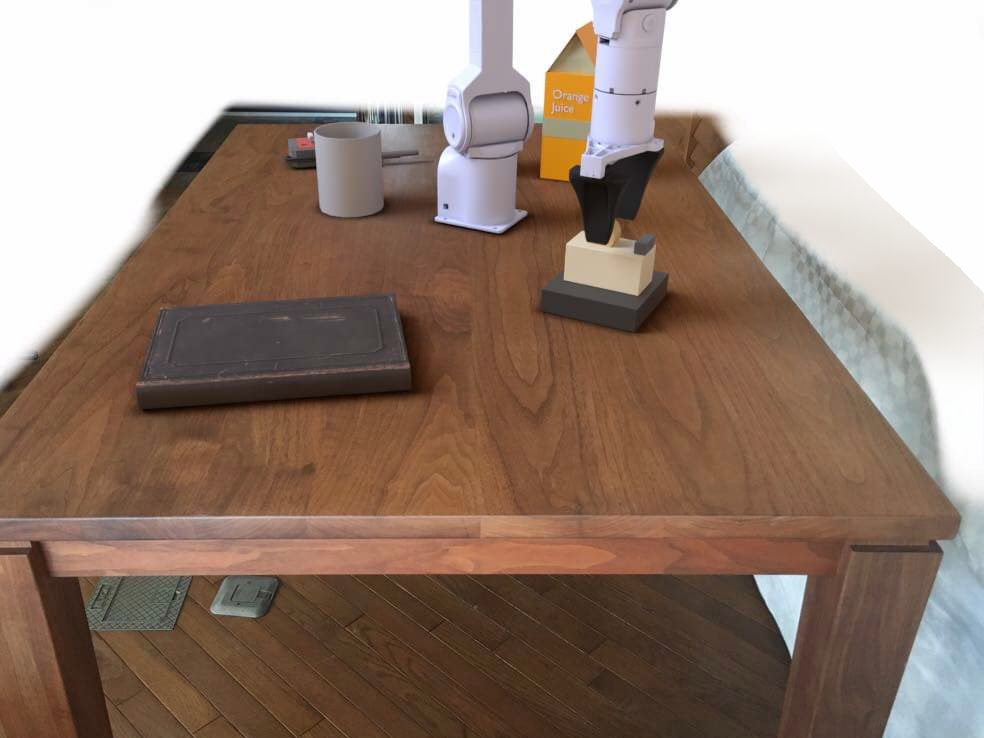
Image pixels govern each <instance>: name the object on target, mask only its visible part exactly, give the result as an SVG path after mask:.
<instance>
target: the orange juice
mask: <svg viewBox="0 0 984 738" xmlns="http://www.w3.org/2000/svg"><path fill="white" fill-rule="evenodd" d="M597 44H598V35H597V34H595V33H594V27H593V20H591V21H589V22H587V23H585V24H584V25H582V26H580V27H579V28H577V29H576V30H575V32H574V33H573V35H572V36H571V38H570V39H569V41H567V43H566V45H564V47H563V49H561V51H560V52H559V54H558V55H557V57H556V58H555V60H554V61H553V63H551V65H550V66H549V68H548V69H547V70H546V71H545V73H544V75H545V77H544V93H543V94H544V96H543V97H544V98H543V111H542V112H543V114H542V125H541V126H542V128H541V150H540V151H541V152H540V153H541V154H540V171H539V172H540V173H539V178H540V179H547V180H548V179H549V180H557V181H563V182H570V181H569V170H570V169H571V168H572V167H574V166H575V165H581V158H582V154H584V153H585V152H586V148H587V139H588V134H589V133H590V129H591V117H592V105H593V93H594V80H595V68H596V56H597Z"/></svg>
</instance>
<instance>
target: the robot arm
mask: <svg viewBox="0 0 984 738" xmlns="http://www.w3.org/2000/svg"><path fill="white" fill-rule="evenodd" d="M678 2H679V0H590V3H591V6H592V12H593V13H592V14H593V16H592V19H593V20H592V22H593V27H594V33H595V34H597V35H598V44H597V56H596V68H595V80H594V93H593V105H592V117H591V129H590V133H589V134H588V139H587V148H586V152H585V153H584V154H582V158H581V165H575V166H574V167H572V168H571V169H570V170H569V181H568V182H570V185H571V187H572V188H573V191H574V193H575V195H576V198H577V201H578V203H579V209H580V213H581V218H582V225H583V231H585V237H586V241H587V242H591V243H596V244H601V245H607V244H608V243H609V240H610V238H611V235H612V232H613V228H614V224H615V219H616V220H617V219H622V220H627V221H628V220H629V221H634V220H635V219H636V218H637V215H638V213H639V210H640V207H641V205H642V202H643V198H644V195H645V192H646V189H647V186H648V183H649V181H650V179H651V177H652V174H653V172H654V170H655V168H656V167H657V165H658V164H659V162H660V160H661V159H662V158H663V156H664V153H665V147H664V144H665V140H664V139H662V138H658V137H657V138H656V137H654V133H655V125H656V120H655V113H656V112H655V111H656V104H657V95H658V86H659V78H660V69H661V61H662V52H663V45H664V36H665V35H664V34H665V28H666V20H667V19H666V17H667V12H668V11H670V10H671V9H673V8H674V7H675V6H676V4H678ZM513 58H514V0H468V62H469V63H468V64H467V66H466V67H465V68H464V69H463V70H461V72H460V73H459V74H457V75H456V76H455V77H454V78H453V79H452V80H451V81H450V82H449V83H448V84H447V86H446V88H447V89H446V101H445V107H444V110H443V115H442V122H443V123H442V125H443V132H444V135H445V138H446V141H447V142H448V144H449V145H448V146H446V148H444V150H443V152H442V153H441V154H440V157H439V161H438V165H437V173H436V175H437V177H436V179H437V215H436V216H435V217H434V221H435V222H436V223H442V224H448V225H453V226H457V227H463V228H468V229H473V230H478V231H483V232H487V233H488V232H489V233H493V234H502V233H504V232H506V231H507V230H508V229H510V228H511V227H512V226H514V225H515V224H517V223H518V222H519V221H521V220H523V219H524V218H525V217H527V216H528V211H526V210H522V209H516V203H517V201H516V200H517V197H516V196H517V174H518V172H517V171H518V152H522V151H524V144H525V143H527V141H528V140H529V139H530V137H531V136H532V133H533V130H534V127H535V110H534V105H533V102H532V95H531V82H530V80H528V79H527V78H526V77H525V76H524V75H523V74H521V73H520V72H519V71H518V70H516V68H514V66H513V63H514V62H513ZM499 92H502V93H499ZM490 93H493V94H490ZM481 94H484V95H481Z"/></svg>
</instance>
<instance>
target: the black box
mask: <svg viewBox="0 0 984 738" xmlns="http://www.w3.org/2000/svg"><path fill="white" fill-rule="evenodd" d="M669 276H670V273H669V272H664V271H659V270H655V269H653V275H652V281H651V282H650V283H649V284H648V286H647V287H646V288H645V289H644V290H643V291H642V292H641V293H640V294H639V296H636V295H631V294H626V293H622V292H617V291H612V290H607V289H603V288H598V287H593V286H589V285H584V284H579V283H574V282H570V281H565V280H564V269H563V270H562V271H561V272H559V273H558V274H556V276H555V277H553V279H551V281H549V282H548V283H547V284H546V285H545V286H543V287H542V288H541V299H540V301H541V302H540V312H542V313H543V312H544V313H547V314H552V315H556V316H561V317H565V318H570V319H573V320H578V321H582V322H587V323H590V324H595V325H600V326H604V327H609V328H613V329H618V330H620V331H621V330H622V331H626V332H630V333H635V332H636V331H637V330H638V329H639V328H640V327H641V325H642V324H643V323H644V322H645V321H646V320H647V318H649V316H650V315H651V314H652V313H653V311H654V310H655V309H656V308H657V307H658V305H659V304H660V303H661V301H662V300H663V299H664V298H665V297H666V296H667V291H668V284H669Z"/></svg>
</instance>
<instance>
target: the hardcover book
mask: <svg viewBox="0 0 984 738" xmlns="http://www.w3.org/2000/svg"><path fill="white" fill-rule="evenodd" d="M403 330H404V329H403V325H402V320H401V316H400V310H399V306H398V301H397V297H396V293H395V292H392V293H390V292H389V293H374V294H373V293H372V294H358V295H344V296H342V295H340V296H326V297H324V296H323V297H309V298H294V299H293V298H291V299H277V300H261V301H260V300H259V301H243V302H227V303H210V304H194V305H192V304H191V305H179V306H178V305H177V306H161V307H160V308H159V311H158V315H157V317H156V320H155V324H154V327H153V330H152V333H151V336H150V338H149V339H150V340H149V342H148V346H147V349H146V352H145V356H144V359H143V362H142V365H141V369H140V372H139V374H138V378H137V381H136V385H135V397H136V402H137V407H138V409H139V410H152V409H153V410H155V409H169V408H179V407H181V408H182V407H194V406H195V407H196V406H207V405H210V406H211V405H223V404H236V403H237V404H238V403H251V402H262V401H263V402H264V401H276V400H291V399H305V398H317V397H318V398H319V397H320V398H321V397H331V396H332V397H333V396H346V395H359V394H373V393H387V392H398V391H399V392H400V391H411V390H412V371H411V364H410V359H409V355H408V349H407V344H406V340H405V334H404V331H403Z"/></svg>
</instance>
